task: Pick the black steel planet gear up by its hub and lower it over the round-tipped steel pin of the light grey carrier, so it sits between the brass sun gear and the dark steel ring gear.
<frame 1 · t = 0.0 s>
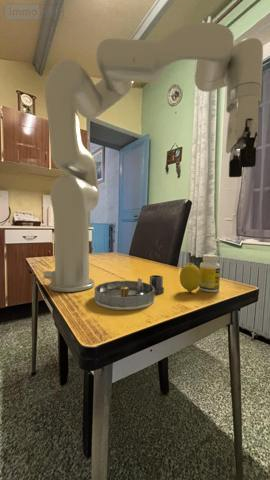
hand: (240, 172, 53), 31 cm above the table, fingers open, 9 cm apart
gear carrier: (124, 299, 52), on the table
supplement bottle: (209, 290, 61), on the table
lemon: (189, 293, 58), on the table
planet gear: (156, 291, 58), on the table
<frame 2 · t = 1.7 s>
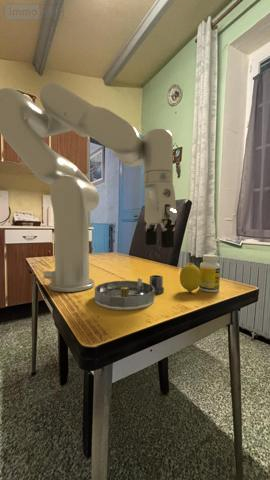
hand: (158, 246, 58), 12 cm above the table, fingers open, 9 cm apart
nothing on the table moved.
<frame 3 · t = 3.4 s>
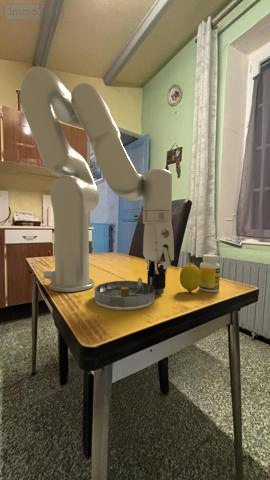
hand: (156, 285, 58), 2 cm above the table, fingers closed on planet gear, 3 cm apart
planet gear: (156, 291, 58), on the table, touching gripper
everything else where it was.
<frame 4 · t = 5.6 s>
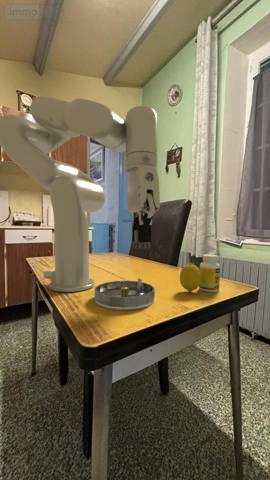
hand: (141, 241, 52), 14 cm above the table, fingers closed on planet gear, 3 cm apart
planet gear: (141, 247, 53), point 12 cm above the table, touching gripper
everything else where it was.
when the fingers open (4 cm above the table, at t = 8.1 s): planet gear stays where it is, resting on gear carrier.
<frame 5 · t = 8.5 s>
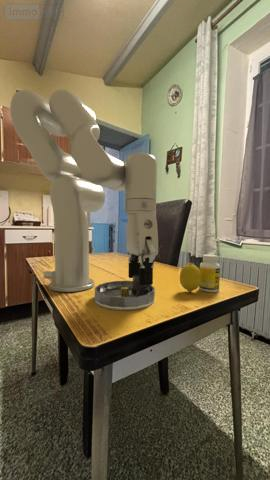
hand: (139, 280, 53), 4 cm above the table, fingers open, 7 cm apart
planet gear: (139, 293, 53), point 1 cm above the table, touching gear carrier
everything else where it was.
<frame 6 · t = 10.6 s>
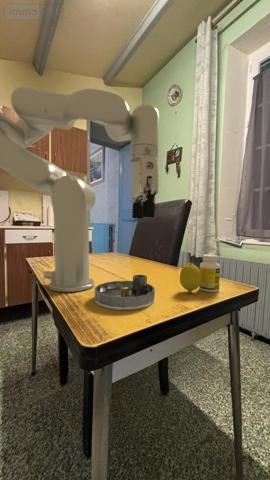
hand: (142, 217, 61), 20 cm above the table, fingers open, 9 cm apart
nothing on the table moved.
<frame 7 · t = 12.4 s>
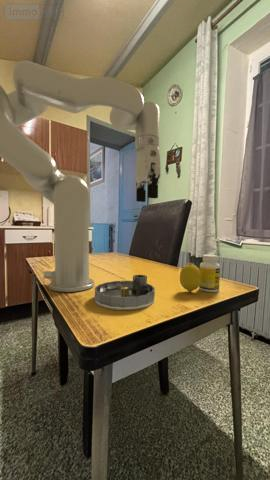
hand: (146, 199, 70), 26 cm above the table, fingers open, 9 cm apart
nothing on the table moved.
at the end: planet gear 0.1 cm from the target spot, point 1.2 cm above the table; planet gear tilted 0°; the gripper is holding nothing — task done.
